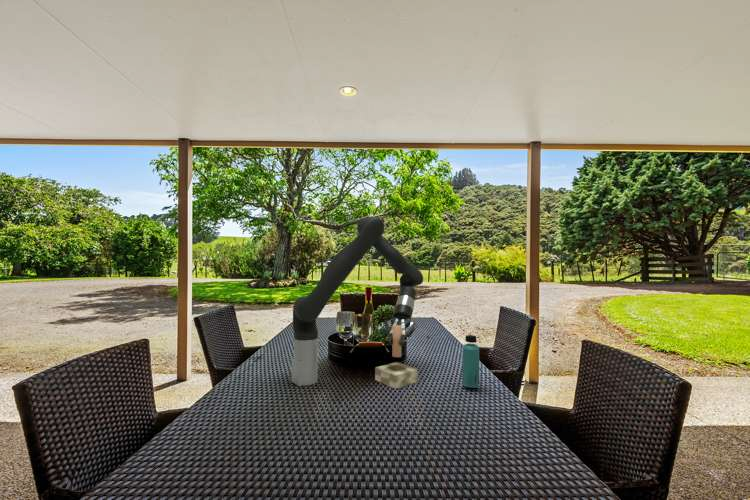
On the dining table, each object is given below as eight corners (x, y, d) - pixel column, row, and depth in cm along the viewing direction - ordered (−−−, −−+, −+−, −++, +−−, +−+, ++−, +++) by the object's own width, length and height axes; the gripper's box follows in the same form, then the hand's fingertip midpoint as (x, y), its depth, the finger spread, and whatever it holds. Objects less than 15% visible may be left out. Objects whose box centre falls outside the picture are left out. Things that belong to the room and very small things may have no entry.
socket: (395, 388, 139) (395, 375, 139) (375, 379, 148) (375, 367, 148) (417, 381, 146) (417, 368, 146) (397, 373, 156) (397, 361, 156)
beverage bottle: (475, 393, 136) (476, 338, 136) (458, 388, 140) (459, 335, 140) (482, 388, 141) (482, 335, 141) (465, 383, 145) (466, 332, 145)
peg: (396, 357, 145) (396, 327, 145) (390, 355, 148) (390, 325, 147) (403, 356, 147) (403, 326, 147) (397, 354, 150) (397, 324, 150)
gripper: (386, 302, 157) (376, 337, 145) (419, 304, 152) (411, 340, 140) (390, 312, 162) (380, 347, 150) (422, 315, 157) (414, 351, 145)
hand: (395, 344), depth 145 cm, fingers closed on peg, 3 cm apart
